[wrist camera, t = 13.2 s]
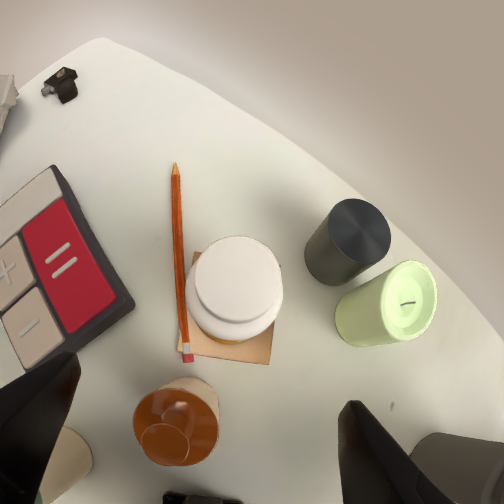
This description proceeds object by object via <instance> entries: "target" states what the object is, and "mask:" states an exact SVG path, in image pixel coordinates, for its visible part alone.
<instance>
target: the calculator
mask: <svg viewBox="0 0 504 504" xmlns="http://www.w3.org/2000/svg"><path fill="white" fill-rule="evenodd" d="M134 307H135V302H134V300H133V299H132V297H131V296H130V294H129V293H128V291H127V289H126V288H125V286H124V285H123V283H122V282H121V280H120V278H119V277H118V275H117V274H116V272H115V270H114V269H113V267H112V265H111V264H110V262H109V260H108V259H107V257H106V255H105V254H104V252H103V250H102V248H101V247H100V245H99V243H98V241H97V239H96V238H95V236H94V234H93V232H92V230H91V229H90V227H89V225H88V223H87V221H86V219H85V217H84V215H83V213H82V211H81V209H80V206H79V204H78V202H77V200H76V198H75V196H74V194H73V192H72V190H71V188H70V186H69V184H68V182H67V181H66V179H65V178H64V176H63V175H62V174H61V172H60V171H59V169H58V168H57V167H56V165H51V166H49V167H48V168H47V169H45V170H44V171H43V172H41V173H40V174H39V175H38V176H36V177H35V178H34V179H32V180H31V181H30V182H29V183H28V184H26V185H25V186H24V187H23V188H21V189H20V190H19V191H18V192H17V193H16V194H14V195H13V196H12V197H11V198H10V199H9V200H7V201H6V202H5V203H4V204H3V205H2V206H1V207H0V318H1V321H2V323H3V325H4V328H5V330H6V333H7V335H8V337H9V339H10V342H11V344H12V346H13V348H14V350H15V352H16V354H17V356H18V358H19V360H20V362H21V364H22V366H23V368H24V370H25V372H26V373H27V372H29V371H30V370H32V369H34V368H35V367H37V366H39V365H40V364H42V363H44V362H45V361H47V360H49V359H50V358H52V357H54V356H55V355H57V354H59V353H60V352H62V351H64V350H68V351H71V352H74V353H76V352H77V351H78V350H80V349H81V348H82V347H84V346H85V345H86V344H87V343H89V342H90V341H91V340H93V339H94V338H95V337H97V336H98V335H99V334H101V333H102V332H103V331H105V330H106V329H107V328H109V327H110V326H111V325H113V324H114V323H115V322H117V321H118V320H119V319H121V318H122V317H123V316H125V315H126V314H127V313H129V312H130V311H131V310H133V309H134Z"/></svg>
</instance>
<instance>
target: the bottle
mask: <svg viewBox="0 0 504 504" xmlns="http://www.w3.org/2000/svg"><path fill="white" fill-rule="evenodd" d="M410 458H411V459H412V460H413V461H414V462H415V464H416V465H417V466H418V467H419V468H420V470H422V471H423V473H424V474H425V475H426V476H427V477H428V478H429V479H430V480H431V481H432V482H433V483H434V484H435V485H436V486H437V487H438V488H439V489H440V490H441V491H442V492H443V493H444V494H445V495H447V496H448V497H449V498H450V499H451V500H452V501H454V502H457V503H459V504H504V443H501V442H493V441H486V440H480V439H474V438H468V437H462V436H456V435H451V434H445V433H433V434H431V435H429V436H427V437H426V438H424V439H423V440H422V441H421V442H420V443H419V444H418V445H417V446H416V448H415V449H414V451H413V452H412V454H411V456H410Z"/></svg>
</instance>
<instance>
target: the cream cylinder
mask: <svg viewBox="0 0 504 504" xmlns="http://www.w3.org/2000/svg"><path fill="white" fill-rule="evenodd" d="M92 465H93V458H92V454H91V451H90V449H89V447H88V445H87V443H86V442H85V441H84V439H83V438H82V437H81V436H80V435H79V434H78V433H76V432H75V431H73V430H72V429H70V428H68V427H65V426H63V427H62V429H61V432H60V434H59V437H58V439H57V442H56V444H55V447H54V449H53V452H52V454H51V457H50V460H49V462H48V465H47V468H46V471H45V473H44V476H43V479H42V482H41V485H40V488H39V491H38V494H37V497H36V500H35V504H50V503H52V502H53V501H54V500H56V499H57V498H58V497H59V496H61V495H62V494H63V493H65V492H66V491H67V490H68V489H70V488H71V487H72V486H73V485H75V484H76V483H77V482H78V481H80V480H81V479H82V478H83V477H85V476H86V475H87V474H88V473H89V472H90V471H91V469H92Z"/></svg>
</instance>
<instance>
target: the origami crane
mask: <svg viewBox="0 0 504 504" xmlns="http://www.w3.org/2000/svg"><path fill="white" fill-rule="evenodd" d="M18 95H19V93H18V91H17V90H16V88H15V83H14V75H0V135H1V132H2V129H3V126H4V123H5V120H6V117H7V114H8V111H9V108H11V107H13V106H16V97H17V96H18Z"/></svg>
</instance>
